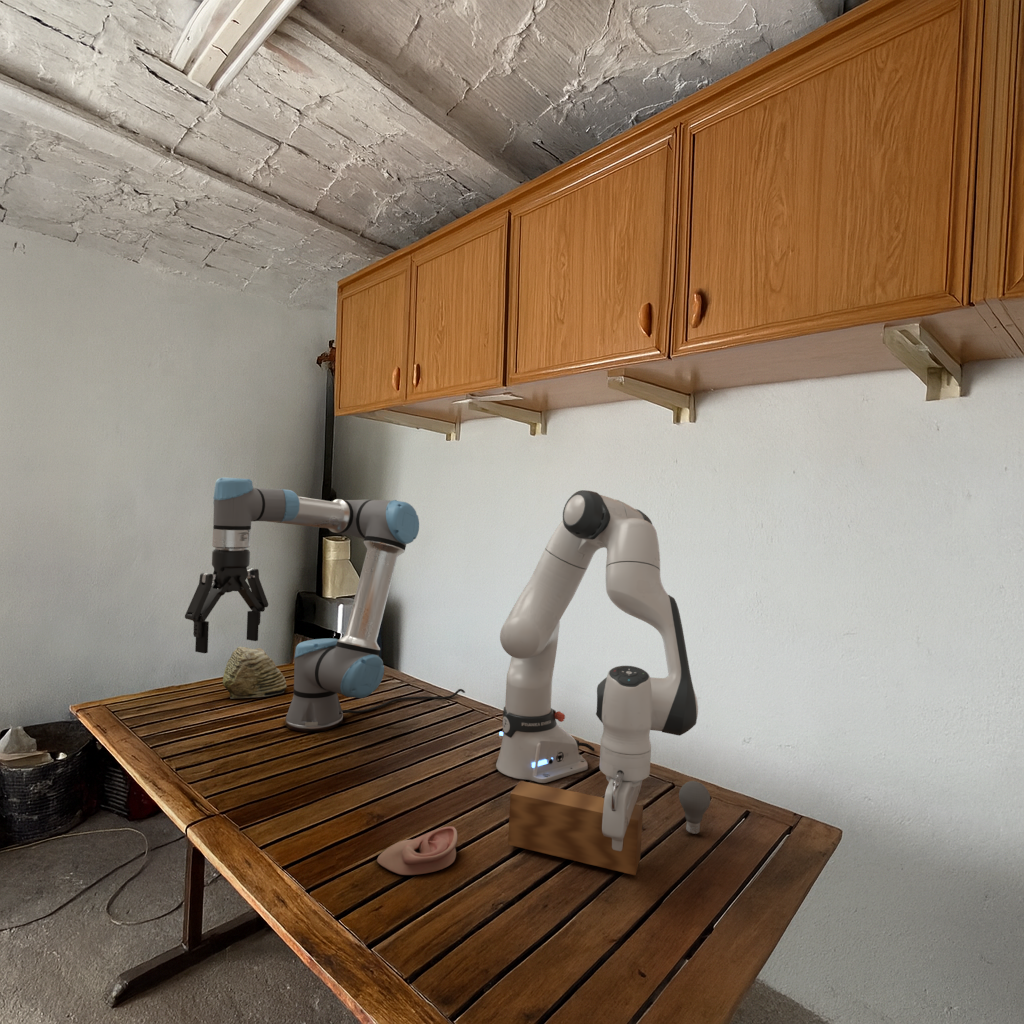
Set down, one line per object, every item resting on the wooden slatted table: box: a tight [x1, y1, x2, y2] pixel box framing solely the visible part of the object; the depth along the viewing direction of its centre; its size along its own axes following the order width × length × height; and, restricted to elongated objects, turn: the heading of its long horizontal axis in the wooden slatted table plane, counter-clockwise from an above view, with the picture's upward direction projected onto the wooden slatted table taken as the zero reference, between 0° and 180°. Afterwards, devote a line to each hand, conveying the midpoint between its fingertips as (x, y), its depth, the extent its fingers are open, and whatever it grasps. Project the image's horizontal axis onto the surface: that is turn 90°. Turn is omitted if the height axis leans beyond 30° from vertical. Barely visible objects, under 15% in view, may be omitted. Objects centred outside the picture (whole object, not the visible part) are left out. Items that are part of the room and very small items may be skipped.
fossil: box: [222, 646, 288, 699], centre depth 198 cm, size 9×18×15 cm, turn 132°
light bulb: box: [678, 780, 711, 835], centre depth 125 cm, size 6×6×10 cm
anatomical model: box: [376, 826, 459, 876], centre depth 112 cm, size 13×4×12 cm
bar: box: [507, 780, 644, 876], centre depth 115 cm, size 23×6×10 cm, turn 70°
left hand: (227, 646), depth 138 cm, fingers open, 13 cm apart
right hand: (621, 838), depth 112 cm, fingers closed on bar, 6 cm apart
